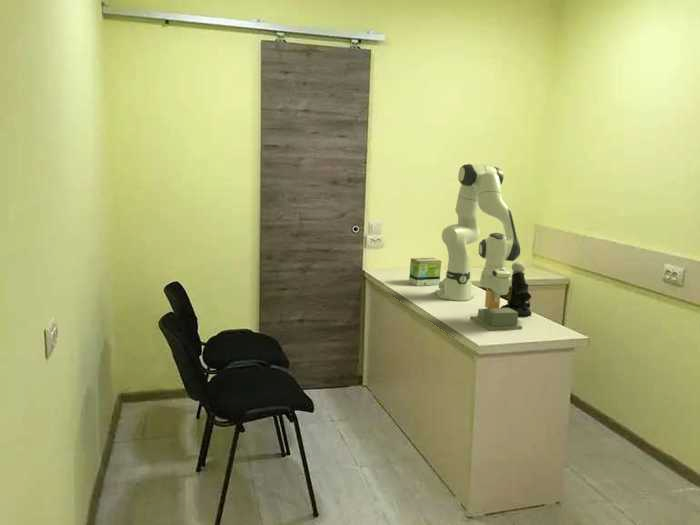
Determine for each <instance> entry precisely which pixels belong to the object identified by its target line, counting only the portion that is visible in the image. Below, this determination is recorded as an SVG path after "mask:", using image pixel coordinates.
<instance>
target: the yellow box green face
mask: <svg viewBox="0 0 700 525" xmlns="http://www.w3.org/2000/svg"><path fill="white" fill-rule="evenodd" d="M494 296H495V292H493V291H492V290H491V289H490V288H488V290H486V289H485V302H484V308H500V306H501V305H500V302H501V295H500V296H499V298H498V302H494V301H493V297H494Z"/></svg>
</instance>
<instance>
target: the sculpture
mask: <svg viewBox="0 0 700 525" xmlns="http://www.w3.org/2000/svg"><path fill="white" fill-rule="evenodd" d="M511 270H512V274H511V276H510V278H511V283H510V284H511V291H510V292H511V294H510V299H509V300H508V301H506V302H507V304H504V305H502V306H501V307H500V308H510V309H512V310H514V311H516V312H518V318H528V316H529V317H531V316H532V311H531V309H530V307H531V303H529V302H527V301H529V300H530V299H531V298H532V295H531V294H530V292H529V284H528V283H526V279H525V275H526V274H525V272H524V271H525V270H526V265H525V264H524V262H522V261H515V262H512V265H511Z"/></svg>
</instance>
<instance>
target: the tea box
mask: <svg viewBox="0 0 700 525" xmlns="http://www.w3.org/2000/svg"><path fill="white" fill-rule="evenodd" d="M441 266H442V260H441V259H437V258H435V257H412V258H410V266H409V278H408V283H409V284H412V285H414V286H416V287H422V286H439V284H440V283H441V281H440V280H441V268H442V267H441Z"/></svg>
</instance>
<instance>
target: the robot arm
mask: <svg viewBox="0 0 700 525" xmlns="http://www.w3.org/2000/svg"><path fill="white" fill-rule="evenodd" d="M457 174H458V177H457V178H458V181H459V183H460V188H459V191H458V194H457V199H456V205H455V213H456V215H457V223H455V224H450V225H448V226H447V227H445V228H444V229H443V230H442V232H441V239H442V242H443V243H444V244H445V245H446V249H447V253H448V254H447V255H448V263H447V270H446V273H445V277H444V278H443V279H442V280H441V281H440V282H439V285H438V288H439V289H435V290H434V291H435V292H434V293H435V294H436V295H437V296H438V298H439V299H443V300H444V299H445V300H451V301H460V302H461V301H469V300H471V299H473V298H474V295H473V294H472V292H473V291H472V289H473V288H472V287H473V286H472V285H473V284H472V281H471V272H470V270H471V269H470V268H471V255H469V253H468V251H467V245H471V244H473V243H475V242H476V241H478V240H479V238H480V237H481V229H480V227H479V226H478V210H481V211H482V213H484V214H486V215H488V216H491V217H492V218H495V219H498V220H499V222H501V223H502V225H503V229H504V230H503V231H504V234H503V233H499V232H492V233H490V234H488V237H487V238H484V239H482V240H481V241H480V242H479V244H478V255H479V256H480V257H481V258H482V259H485V264H484V268H483V270H482V271H481V273H480V274H481V275H480V281H479V284H480V286H481V287H483V288H486V289H485V291H486V290H488V288H490V289H491V290H492V291H493V292H495V296H494V297H493V301H494V302H498V298H499V296H500V297H501V296H505V295H508V293H509V290H510V278H511V276H512V274H511V272H510V271H509V270H508V269H507V267H506V265H507V264H506V261H507V262H509V261H510V262H514V261H515V260H517V259H518V258H519V257H520V256H521V246H520V242H519V240H518V239H519V238H518V236H517V232H516V227H515V223H514V219H513V215H512V211H511V208H510V207H509V206H508V205H507V204H506V203H505V202H504V200H503V196H502V192H503V190H502V183H503V182H504V172H503V170H502V169H501V168H499V167H496V166H491V165H490V166H489V165H487V164H486V165H484V164H471V163H467V164H463V165H462V166H461V167H460V169H459V171H458V173H457Z"/></svg>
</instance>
